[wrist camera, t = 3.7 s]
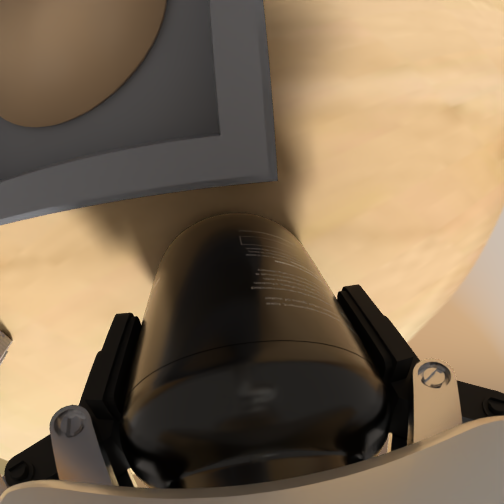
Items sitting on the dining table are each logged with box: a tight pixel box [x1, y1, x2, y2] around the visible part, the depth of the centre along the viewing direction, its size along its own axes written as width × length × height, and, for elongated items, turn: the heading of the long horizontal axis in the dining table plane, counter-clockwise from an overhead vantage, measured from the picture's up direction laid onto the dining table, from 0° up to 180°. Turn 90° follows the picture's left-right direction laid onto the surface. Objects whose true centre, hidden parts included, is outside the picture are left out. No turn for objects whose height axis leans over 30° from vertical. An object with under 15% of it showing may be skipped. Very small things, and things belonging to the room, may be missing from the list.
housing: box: [0, 0, 278, 225], centre depth 7 cm, size 16×16×4 cm
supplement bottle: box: [119, 213, 392, 489], centre depth 9 cm, size 7×7×12 cm
